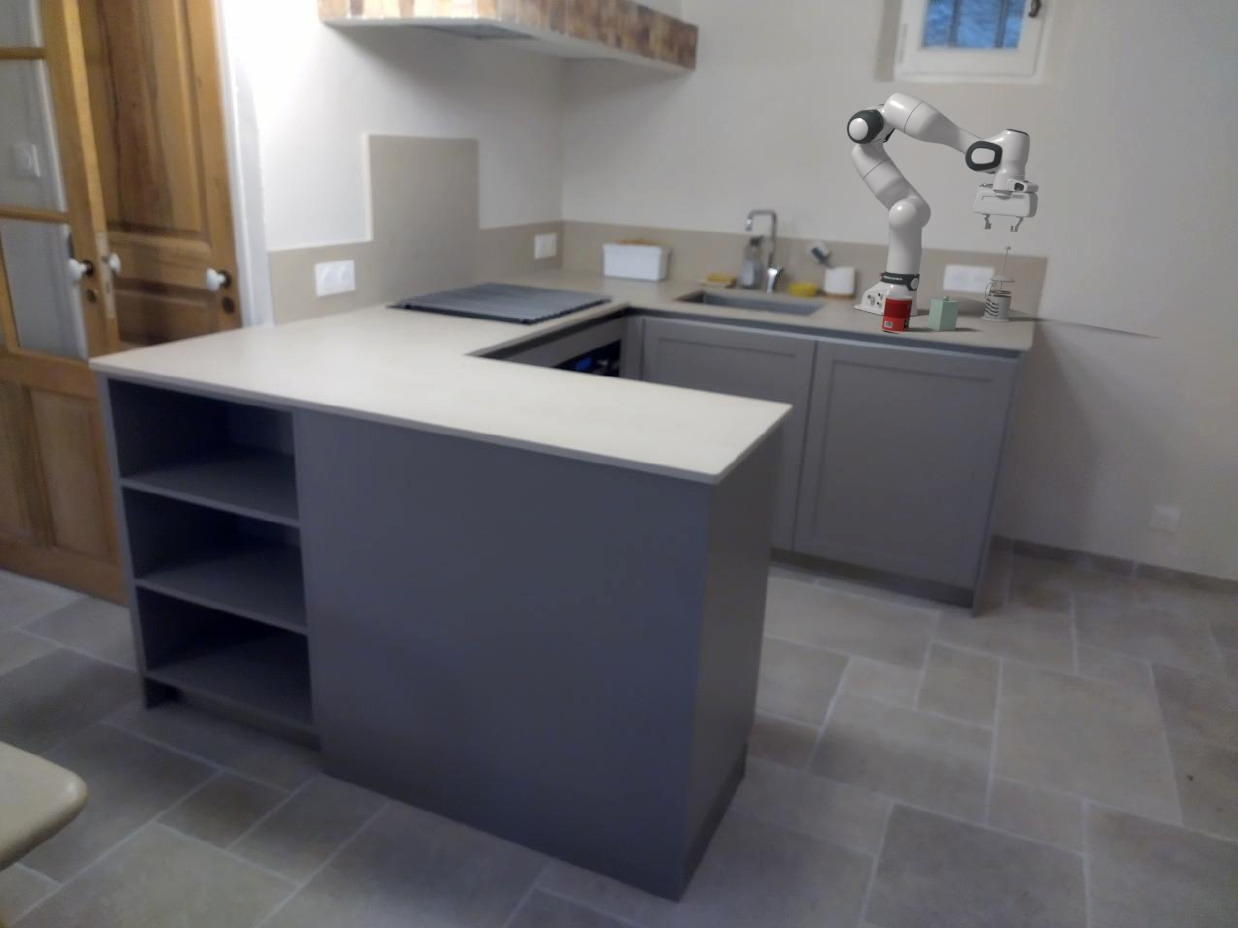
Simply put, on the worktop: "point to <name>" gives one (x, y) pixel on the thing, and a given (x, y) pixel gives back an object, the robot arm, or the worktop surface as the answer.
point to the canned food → (897, 313)
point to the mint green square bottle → (943, 314)
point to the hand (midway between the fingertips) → (1000, 230)
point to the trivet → (941, 331)
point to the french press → (998, 299)
